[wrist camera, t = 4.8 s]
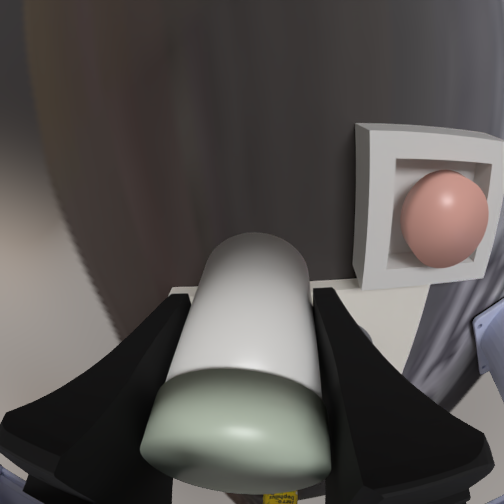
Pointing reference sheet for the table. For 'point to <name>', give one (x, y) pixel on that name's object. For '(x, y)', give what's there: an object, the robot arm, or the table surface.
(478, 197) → the button
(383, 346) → the picture board
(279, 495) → the supplement bottle
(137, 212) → the table surface
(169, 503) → the robot arm
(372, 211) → the button box
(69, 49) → the table surface
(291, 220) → the table surface
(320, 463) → the marker
